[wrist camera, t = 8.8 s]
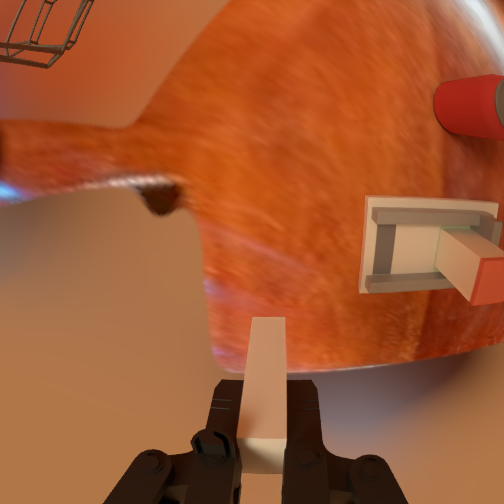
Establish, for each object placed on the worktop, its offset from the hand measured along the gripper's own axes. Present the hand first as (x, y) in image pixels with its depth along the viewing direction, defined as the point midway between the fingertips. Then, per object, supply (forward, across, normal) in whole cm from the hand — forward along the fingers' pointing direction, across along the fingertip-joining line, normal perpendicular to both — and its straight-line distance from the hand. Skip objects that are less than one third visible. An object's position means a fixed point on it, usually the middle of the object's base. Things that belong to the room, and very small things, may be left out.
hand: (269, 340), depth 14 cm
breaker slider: (+21, +23, -4) cm, 31 cm away
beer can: (+22, +22, +14) cm, 34 cm away
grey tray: (+22, +20, -4) cm, 30 cm away
